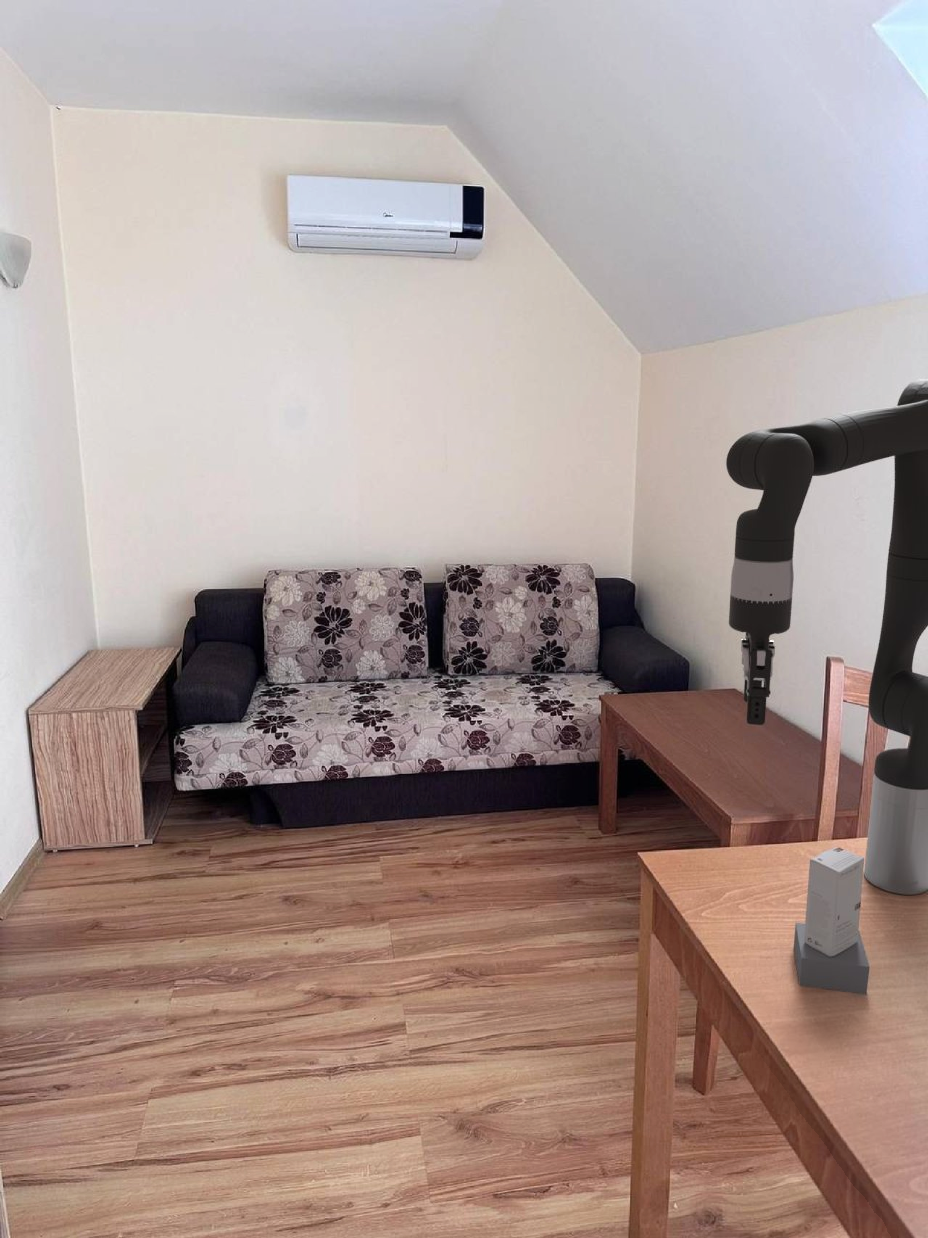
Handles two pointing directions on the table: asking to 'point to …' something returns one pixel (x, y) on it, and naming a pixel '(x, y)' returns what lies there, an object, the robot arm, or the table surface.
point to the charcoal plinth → (831, 966)
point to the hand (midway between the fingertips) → (753, 712)
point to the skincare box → (833, 901)
